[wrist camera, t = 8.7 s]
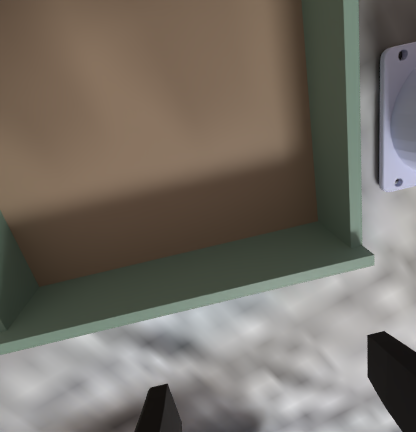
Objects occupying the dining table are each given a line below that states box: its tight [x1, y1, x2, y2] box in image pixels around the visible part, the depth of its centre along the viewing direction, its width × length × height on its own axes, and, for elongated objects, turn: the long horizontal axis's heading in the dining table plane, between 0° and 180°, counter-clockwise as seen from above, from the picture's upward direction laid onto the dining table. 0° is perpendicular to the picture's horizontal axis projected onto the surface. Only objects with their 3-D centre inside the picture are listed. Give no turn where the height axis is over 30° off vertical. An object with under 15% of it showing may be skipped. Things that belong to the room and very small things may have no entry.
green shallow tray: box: [0, 0, 374, 355], centre depth 14 cm, size 19×17×5 cm
